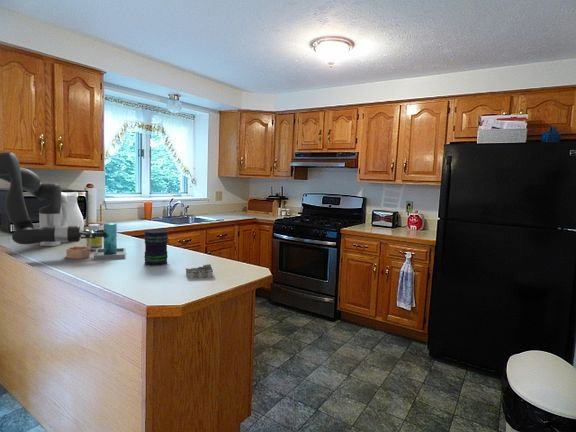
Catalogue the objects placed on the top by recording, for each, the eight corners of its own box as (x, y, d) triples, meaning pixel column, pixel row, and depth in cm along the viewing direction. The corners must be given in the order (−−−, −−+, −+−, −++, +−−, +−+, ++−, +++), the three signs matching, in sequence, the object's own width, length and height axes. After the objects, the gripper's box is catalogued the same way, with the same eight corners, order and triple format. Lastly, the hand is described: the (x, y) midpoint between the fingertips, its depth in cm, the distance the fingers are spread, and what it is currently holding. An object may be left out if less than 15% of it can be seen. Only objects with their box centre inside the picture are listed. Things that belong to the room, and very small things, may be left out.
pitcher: (53, 237, 208) (52, 191, 206) (85, 236, 215) (85, 192, 213) (44, 244, 187) (43, 193, 184) (80, 243, 194) (80, 194, 191)
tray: (96, 252, 172) (96, 248, 172) (125, 251, 178) (125, 248, 178) (93, 259, 158) (93, 255, 158) (124, 258, 163) (124, 254, 163)
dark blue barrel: (159, 266, 151) (160, 233, 150) (139, 264, 153) (139, 231, 152) (171, 262, 161) (172, 230, 159) (152, 260, 163) (152, 228, 161)
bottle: (104, 253, 169) (104, 223, 168) (116, 253, 171) (116, 223, 170) (103, 255, 164) (103, 224, 163) (116, 255, 166) (116, 224, 165)
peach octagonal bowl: (68, 254, 165) (68, 246, 165) (91, 253, 169) (90, 245, 169) (65, 259, 157) (65, 250, 156) (88, 258, 161) (88, 249, 160)
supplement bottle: (104, 248, 185) (104, 224, 183) (96, 250, 178) (96, 225, 176) (92, 247, 185) (92, 223, 184) (83, 249, 178) (83, 225, 177)
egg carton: (211, 273, 146) (211, 263, 145) (213, 278, 138) (213, 268, 138) (185, 274, 142) (185, 264, 142) (185, 279, 135) (186, 269, 135)
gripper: (65, 227, 153) (106, 227, 160) (69, 223, 166) (107, 223, 172) (65, 244, 153) (106, 243, 160) (70, 239, 166) (107, 238, 173)
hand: (107, 233), depth 166 cm, fingers open, 8 cm apart
